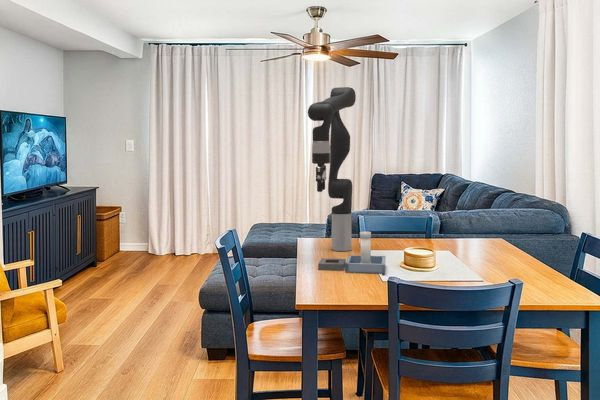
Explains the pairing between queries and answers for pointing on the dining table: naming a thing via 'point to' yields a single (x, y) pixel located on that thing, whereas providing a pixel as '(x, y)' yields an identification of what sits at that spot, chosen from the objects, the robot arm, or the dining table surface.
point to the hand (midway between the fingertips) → (321, 190)
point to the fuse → (365, 247)
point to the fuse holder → (331, 264)
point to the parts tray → (365, 265)
